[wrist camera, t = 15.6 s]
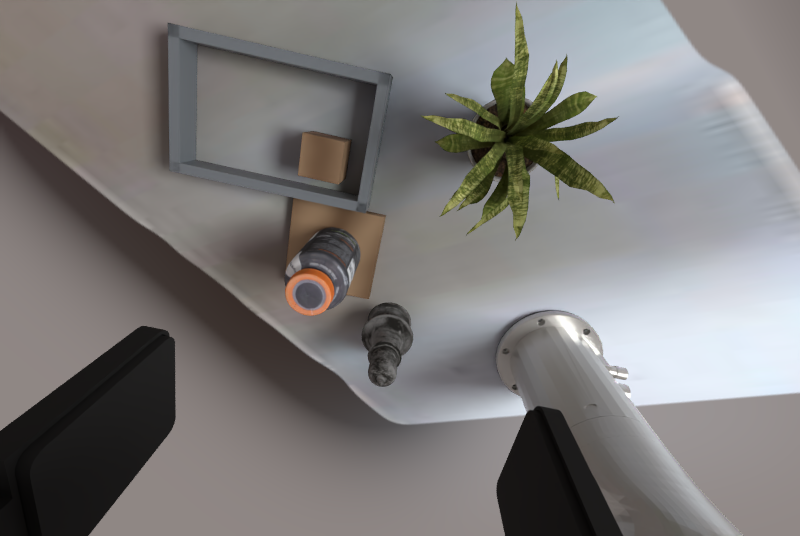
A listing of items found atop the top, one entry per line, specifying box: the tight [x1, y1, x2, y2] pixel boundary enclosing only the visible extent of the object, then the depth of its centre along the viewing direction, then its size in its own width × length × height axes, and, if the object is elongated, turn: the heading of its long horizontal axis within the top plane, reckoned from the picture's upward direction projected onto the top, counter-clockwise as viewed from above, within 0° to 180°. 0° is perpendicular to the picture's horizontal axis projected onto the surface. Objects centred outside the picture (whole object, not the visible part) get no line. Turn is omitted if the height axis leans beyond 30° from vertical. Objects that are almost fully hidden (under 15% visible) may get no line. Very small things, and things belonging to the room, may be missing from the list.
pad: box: [284, 198, 386, 299], centre depth 43 cm, size 10×10×1 cm
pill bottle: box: [285, 227, 361, 316], centre depth 38 cm, size 6×6×11 cm
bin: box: [168, 23, 393, 213], centre depth 38 cm, size 20×13×3 cm, turn 78°
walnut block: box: [298, 131, 352, 184], centre depth 38 cm, size 4×4×4 cm
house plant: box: [422, 3, 618, 239], centre depth 31 cm, size 14×14×16 cm
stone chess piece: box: [362, 303, 413, 387], centre depth 41 cm, size 6×6×12 cm
